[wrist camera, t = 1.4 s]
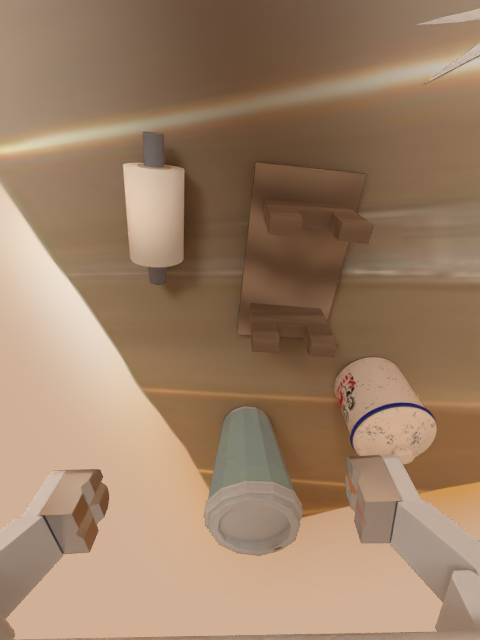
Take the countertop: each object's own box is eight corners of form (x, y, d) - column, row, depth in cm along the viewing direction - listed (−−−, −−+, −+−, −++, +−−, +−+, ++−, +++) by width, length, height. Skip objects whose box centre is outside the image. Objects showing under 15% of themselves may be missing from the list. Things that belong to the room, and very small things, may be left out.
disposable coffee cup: (194, 416, 46) (179, 529, 33) (256, 379, 43) (265, 489, 30) (241, 455, 50) (243, 568, 38) (300, 424, 47) (325, 536, 34)
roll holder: (255, 161, 30) (261, 173, 23) (363, 173, 30) (400, 187, 24) (237, 329, 39) (237, 373, 32) (320, 336, 40) (338, 380, 33)
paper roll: (139, 130, 29) (107, 129, 25) (193, 136, 28) (170, 136, 24) (146, 268, 36) (121, 286, 31) (190, 276, 35) (171, 296, 31)
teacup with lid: (330, 359, 41) (361, 434, 31) (404, 349, 41) (460, 422, 31) (332, 425, 47) (358, 505, 37) (396, 417, 47) (441, 497, 37)
